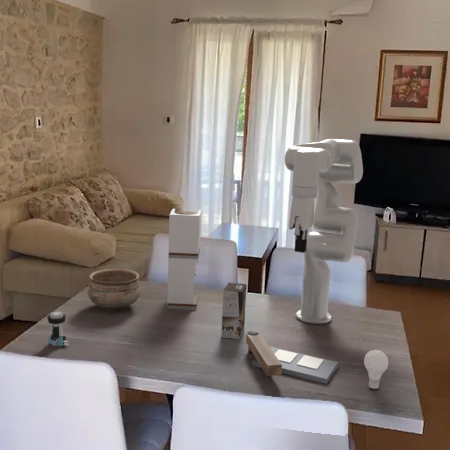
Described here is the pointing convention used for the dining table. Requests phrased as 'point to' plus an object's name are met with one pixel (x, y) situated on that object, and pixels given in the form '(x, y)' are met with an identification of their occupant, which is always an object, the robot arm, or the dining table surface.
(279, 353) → the label board
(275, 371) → the swing bar
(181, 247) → the white wood-banded pillar
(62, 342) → the push button
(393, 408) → the dining table surface
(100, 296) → the cooking pot
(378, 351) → the lightbulb
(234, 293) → the coffee box
